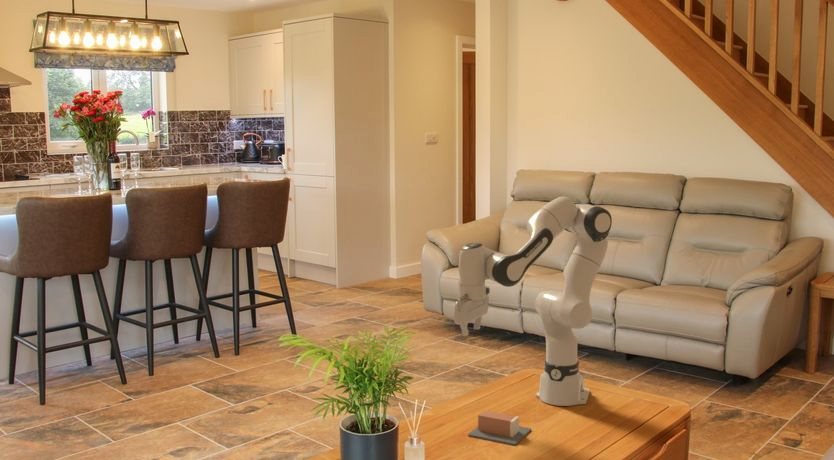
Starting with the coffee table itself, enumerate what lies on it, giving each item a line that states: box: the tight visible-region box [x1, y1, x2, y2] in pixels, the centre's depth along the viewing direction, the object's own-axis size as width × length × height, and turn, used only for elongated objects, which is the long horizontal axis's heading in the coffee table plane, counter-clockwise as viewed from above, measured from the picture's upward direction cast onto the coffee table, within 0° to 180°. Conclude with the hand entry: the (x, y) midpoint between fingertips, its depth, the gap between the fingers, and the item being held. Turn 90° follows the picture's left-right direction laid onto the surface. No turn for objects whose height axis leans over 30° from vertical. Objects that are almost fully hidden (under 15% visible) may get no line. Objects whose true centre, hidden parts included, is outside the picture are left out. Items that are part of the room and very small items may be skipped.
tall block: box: [477, 410, 520, 437], centre depth 255 cm, size 5×5×12 cm
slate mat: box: [467, 425, 532, 446], centre depth 255 cm, size 14×16×1 cm
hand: (471, 332), depth 267 cm, fingers open, 8 cm apart
